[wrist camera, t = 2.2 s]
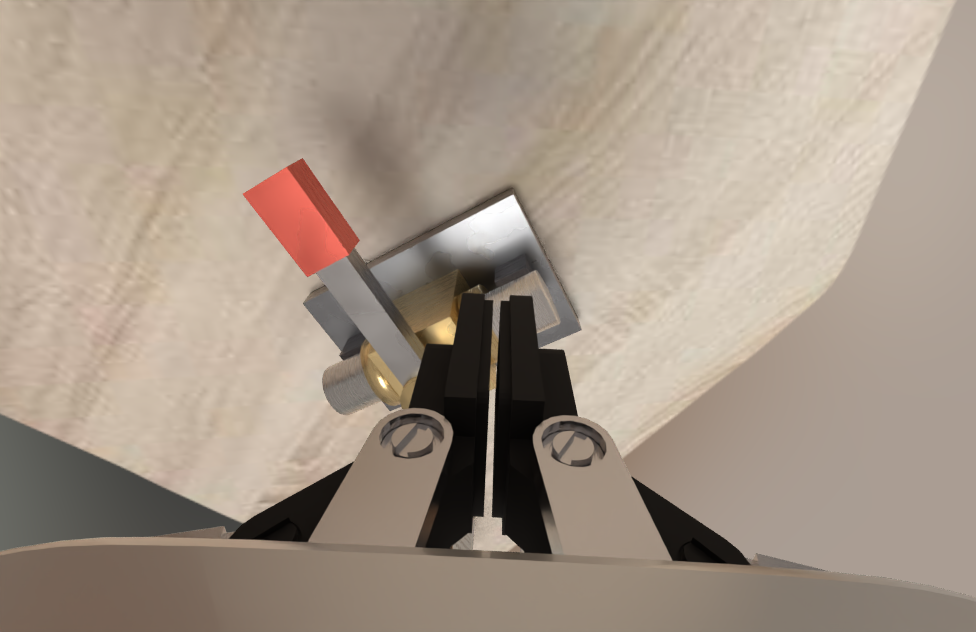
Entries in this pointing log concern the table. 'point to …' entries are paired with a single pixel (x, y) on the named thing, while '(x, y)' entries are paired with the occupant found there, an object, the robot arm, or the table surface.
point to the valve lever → (337, 264)
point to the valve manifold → (445, 296)
